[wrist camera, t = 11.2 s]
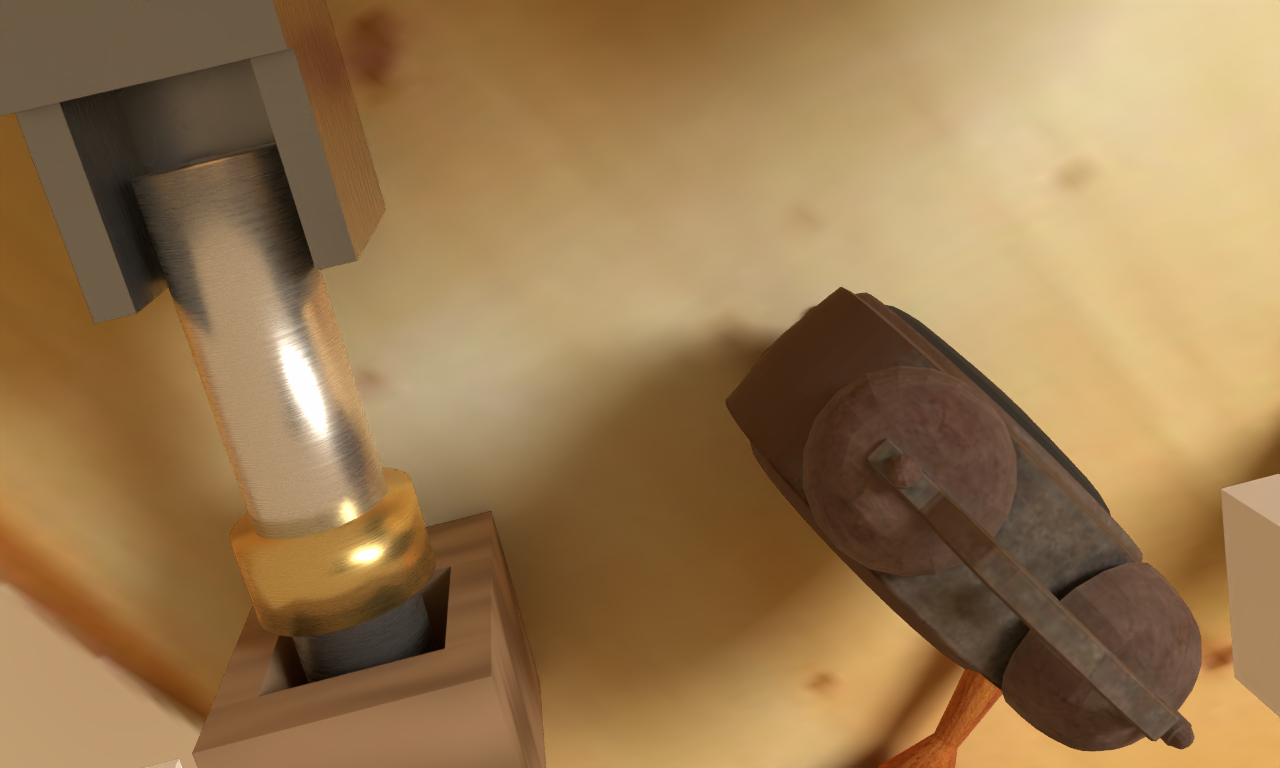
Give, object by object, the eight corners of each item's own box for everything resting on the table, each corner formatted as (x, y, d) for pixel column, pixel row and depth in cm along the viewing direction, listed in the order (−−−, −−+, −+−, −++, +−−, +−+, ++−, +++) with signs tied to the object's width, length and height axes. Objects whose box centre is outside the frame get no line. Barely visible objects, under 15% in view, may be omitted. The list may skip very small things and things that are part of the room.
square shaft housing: (69, -58, 40) (-77, -86, 30) (293, -109, 40) (226, -153, 30) (179, 258, 43) (82, 332, 33) (385, 209, 44) (353, 267, 33)
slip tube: (135, 171, 38) (73, 198, 33) (319, 128, 39) (290, 147, 33) (313, 677, 44) (287, 775, 38) (472, 637, 44) (469, 728, 39)
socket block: (268, 567, 47) (192, 753, 35) (491, 511, 48) (491, 676, 36) (327, 737, 50) (276, 965, 38) (539, 682, 50) (555, 890, 38)
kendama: (1173, 593, 48) (912, 992, 50) (1077, 531, 53) (845, 895, 56) (1076, 540, 46) (806, 963, 48) (985, 481, 51) (746, 864, 53)
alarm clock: (1041, 454, 50) (1383, 722, 31) (916, 575, 51) (1172, 907, 32) (806, 216, 46) (1031, 354, 27) (673, 351, 47) (800, 580, 28)
